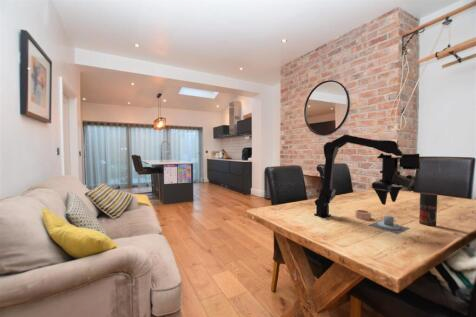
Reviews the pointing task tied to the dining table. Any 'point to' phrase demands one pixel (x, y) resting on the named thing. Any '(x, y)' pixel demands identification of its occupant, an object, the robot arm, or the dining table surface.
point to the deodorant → (428, 209)
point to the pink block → (363, 214)
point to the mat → (390, 230)
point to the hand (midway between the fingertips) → (388, 203)
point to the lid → (388, 223)
